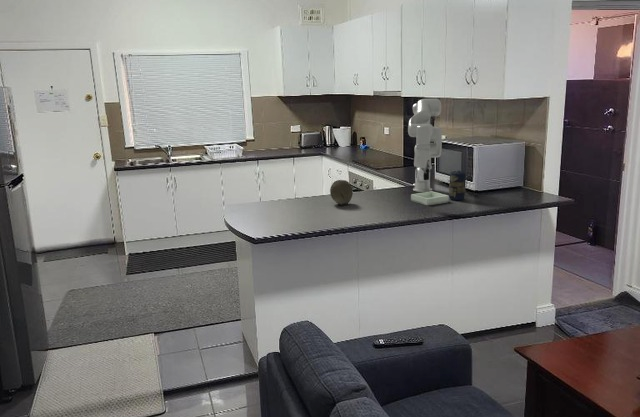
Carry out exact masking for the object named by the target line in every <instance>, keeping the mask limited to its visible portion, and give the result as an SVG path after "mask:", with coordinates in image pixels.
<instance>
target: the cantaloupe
mask: <svg viewBox="0 0 640 417" xmlns="http://www.w3.org/2000/svg"><path fill="white" fill-rule="evenodd" d="M353 192H354V191H353V187H352V185H351V183H350V182H349V181H348V180H346V179H344V180H343V179H338V180H335V181H334V182H333V183H332V184H331V186H330V189H329V193H330V196H331V199H332V200H333V201H334V203H336V204H338V205H339V206H346V205H347V204H349V203H350V202H351V200H352V198H353V195H354V194H353Z"/></svg>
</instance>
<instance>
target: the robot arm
mask: <svg viewBox="0 0 640 417" xmlns="http://www.w3.org/2000/svg"><path fill="white" fill-rule="evenodd" d="M412 113H413V116H411V117H410V118H409V120H408V126H407V133H408V134H407V135H409V137H411V138H416V139H415V140H416V143H415V146H414V149H413V150H414V157H413V158H414V159H413V166H414V168H415V172H414V173H415V175H414V177H415V180H414V181H415V182H414V183H413V184H412V186H414V187H413V188H412V190H413V191H414V192H417V193H424V192H430V191H433V187H431V170H432V169H433V166H432V158H433V159H434V158H435V159H436V158H440V157H441V155H442V150H443V149H442V146H443V145H442V143H443V139H442V138H443V137H442V136H443V134H442V129H441V127H439V126H433V125H432V124H431V117H439V116H440V115H441V113H442V101H441V100H440V99H439V98H422V99H419V100H418V101H417V102H416V103H414V104H413V105H412ZM417 168H424V172H425V173H424V180H428V182H425V183H420V182H417ZM426 169H427V170H426Z"/></svg>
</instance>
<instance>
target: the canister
mask: <svg viewBox="0 0 640 417" xmlns="http://www.w3.org/2000/svg"><path fill="white" fill-rule="evenodd" d="M466 178H467V173H466V172H465V171H461V170H457V171H456V170H455V171H450V172H449V182H448V183H449V184H448V185H449V187H448V188H449V189H448V191H449V192H448V196H449V200H452V201H463V200H464V199H465V198H466V181H467V180H466Z"/></svg>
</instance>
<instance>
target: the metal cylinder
mask: <svg viewBox="0 0 640 417" xmlns="http://www.w3.org/2000/svg"><path fill="white" fill-rule="evenodd" d="M426 170H427V169H426ZM424 173H425V172H424V168H417V182H420V183H425V182H428V180H424Z"/></svg>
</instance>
